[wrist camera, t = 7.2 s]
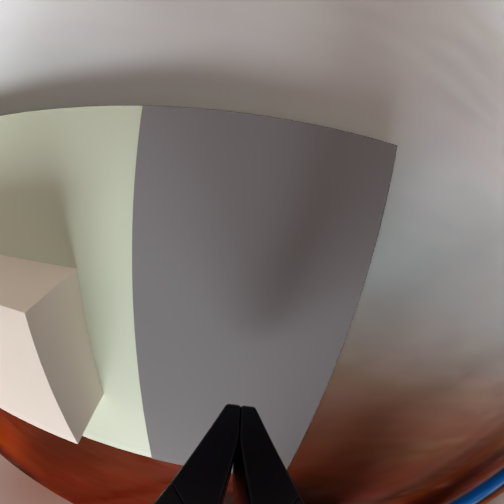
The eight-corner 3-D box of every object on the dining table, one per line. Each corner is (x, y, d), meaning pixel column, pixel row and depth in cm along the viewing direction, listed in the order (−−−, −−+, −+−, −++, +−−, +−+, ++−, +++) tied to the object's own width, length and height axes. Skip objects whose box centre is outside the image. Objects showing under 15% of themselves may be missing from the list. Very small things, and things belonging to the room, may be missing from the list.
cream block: (103, 393, 11) (77, 444, 8) (9, 359, 11) (-21, 395, 8) (76, 268, 9) (24, 313, 6) (-23, 250, 9) (-69, 277, 6)
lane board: (282, 461, 14) (283, 475, 13) (-41, 358, 13) (-47, 365, 12) (383, 144, 8) (396, 145, 7) (-82, 137, 8) (-93, 139, 7)
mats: (283, 475, 13) (283, 476, 13) (-47, 365, 12) (-48, 365, 12) (396, 145, 7) (397, 145, 7) (-93, 139, 7) (-93, 139, 7)
